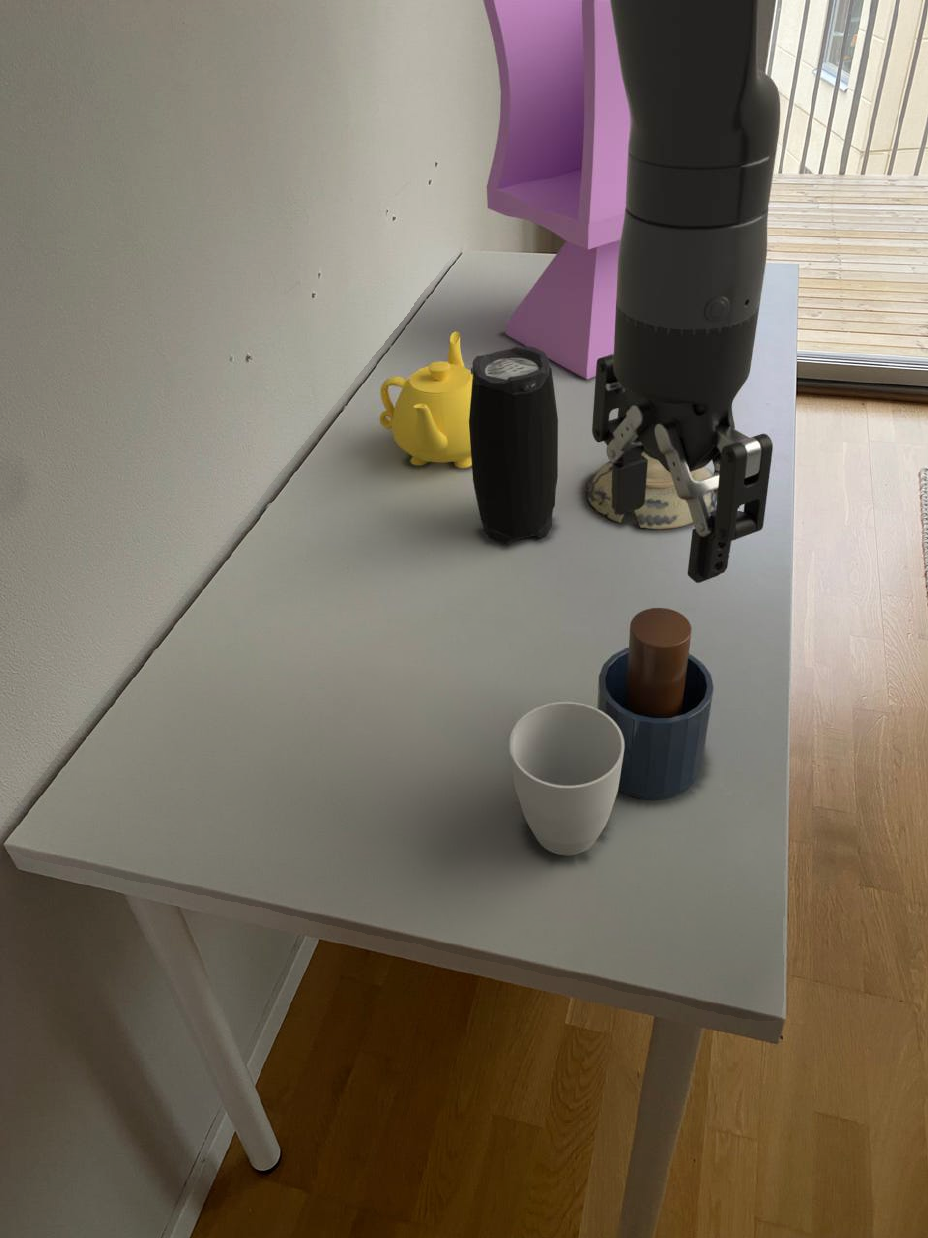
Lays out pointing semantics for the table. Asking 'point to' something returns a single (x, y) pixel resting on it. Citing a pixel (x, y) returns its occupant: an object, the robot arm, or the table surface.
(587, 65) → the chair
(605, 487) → the decorative bowl
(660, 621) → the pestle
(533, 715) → the cup
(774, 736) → the table surface
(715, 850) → the table surface
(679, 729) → the crock
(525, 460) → the portable speaker
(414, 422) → the teapot
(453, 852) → the table surface
